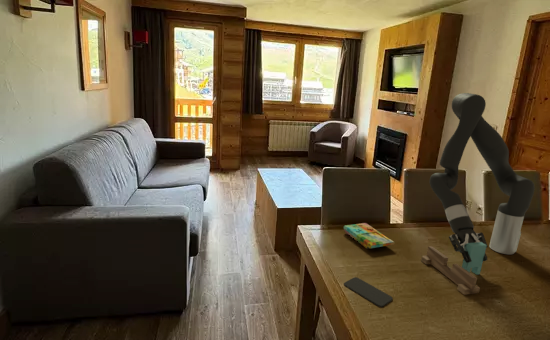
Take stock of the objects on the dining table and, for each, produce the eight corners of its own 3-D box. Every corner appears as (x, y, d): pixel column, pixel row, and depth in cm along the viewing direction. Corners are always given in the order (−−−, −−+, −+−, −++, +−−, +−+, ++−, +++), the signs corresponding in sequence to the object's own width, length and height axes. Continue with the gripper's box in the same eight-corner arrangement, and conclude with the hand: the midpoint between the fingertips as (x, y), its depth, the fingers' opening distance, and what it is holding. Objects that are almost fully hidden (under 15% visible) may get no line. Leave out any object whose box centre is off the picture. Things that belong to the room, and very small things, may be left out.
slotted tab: (474, 270, 124) (481, 242, 121) (479, 274, 122) (486, 245, 119) (460, 272, 123) (467, 243, 120) (465, 275, 120) (472, 246, 117)
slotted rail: (433, 259, 131) (436, 245, 129) (478, 292, 110) (482, 277, 109) (420, 260, 130) (423, 246, 128) (463, 294, 109) (467, 278, 107)
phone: (355, 276, 116) (394, 297, 104) (355, 278, 116) (394, 300, 105) (342, 283, 111) (381, 306, 100) (342, 285, 111) (380, 309, 100)
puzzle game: (365, 221, 154) (394, 240, 136) (363, 230, 155) (393, 250, 137) (344, 223, 150) (371, 243, 132) (342, 233, 151) (370, 254, 133)
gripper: (449, 215, 123) (467, 260, 114) (480, 214, 126) (501, 257, 118) (437, 223, 129) (453, 265, 121) (467, 221, 132) (485, 262, 124)
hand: (477, 261), depth 119 cm, fingers closed on slotted tab, 6 cm apart
